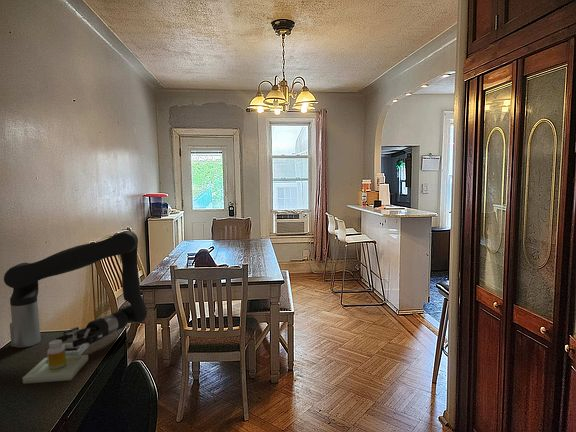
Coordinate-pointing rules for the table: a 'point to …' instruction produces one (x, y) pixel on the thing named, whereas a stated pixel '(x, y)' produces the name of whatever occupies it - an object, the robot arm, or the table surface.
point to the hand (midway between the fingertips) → (64, 342)
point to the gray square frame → (70, 346)
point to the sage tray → (44, 375)
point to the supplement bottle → (56, 356)
